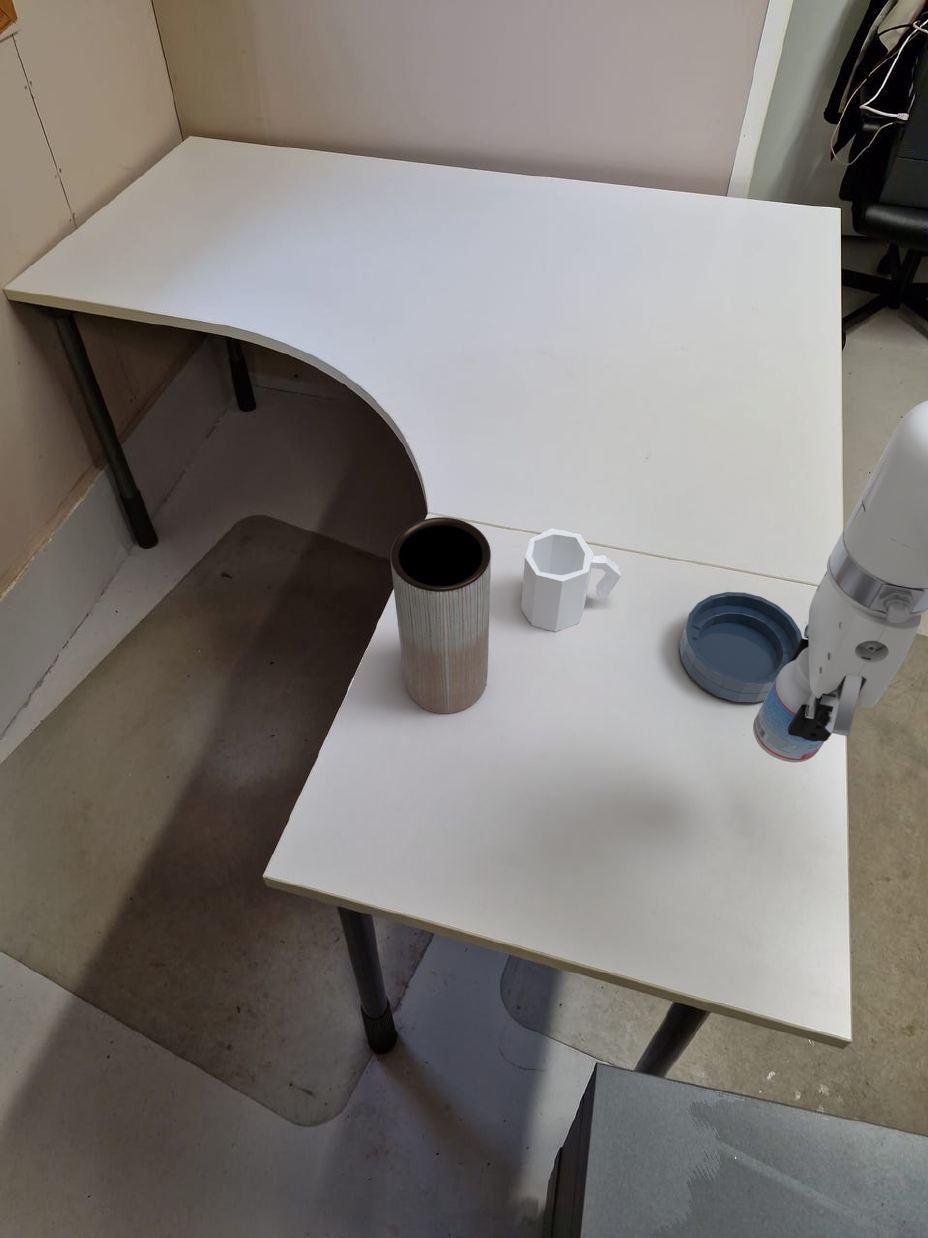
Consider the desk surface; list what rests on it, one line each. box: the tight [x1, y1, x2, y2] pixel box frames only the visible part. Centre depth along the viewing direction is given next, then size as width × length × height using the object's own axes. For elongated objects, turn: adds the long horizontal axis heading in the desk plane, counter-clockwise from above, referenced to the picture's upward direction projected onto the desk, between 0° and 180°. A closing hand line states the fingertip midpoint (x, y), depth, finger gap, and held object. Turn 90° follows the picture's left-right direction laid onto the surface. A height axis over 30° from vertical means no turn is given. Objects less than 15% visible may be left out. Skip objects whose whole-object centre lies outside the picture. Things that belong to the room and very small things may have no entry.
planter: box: [389, 516, 492, 714], centre depth 90 cm, size 10×10×23 cm
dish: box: [679, 591, 804, 703], centre depth 99 cm, size 14×14×4 cm
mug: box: [520, 527, 622, 633], centre depth 102 cm, size 12×9×10 cm
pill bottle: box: [752, 647, 835, 763], centre depth 72 cm, size 6×6×11 cm
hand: (806, 700), depth 71 cm, fingers closed on pill bottle, 6 cm apart
